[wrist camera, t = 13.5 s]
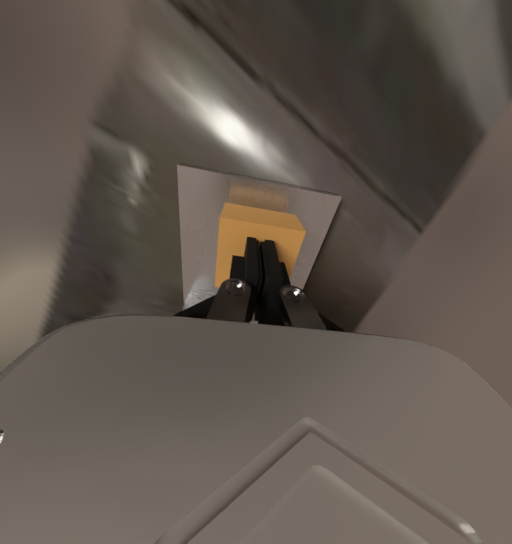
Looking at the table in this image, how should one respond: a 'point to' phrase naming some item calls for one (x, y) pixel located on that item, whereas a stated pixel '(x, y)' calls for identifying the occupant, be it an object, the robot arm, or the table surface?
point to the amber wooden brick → (256, 235)
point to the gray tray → (247, 192)
